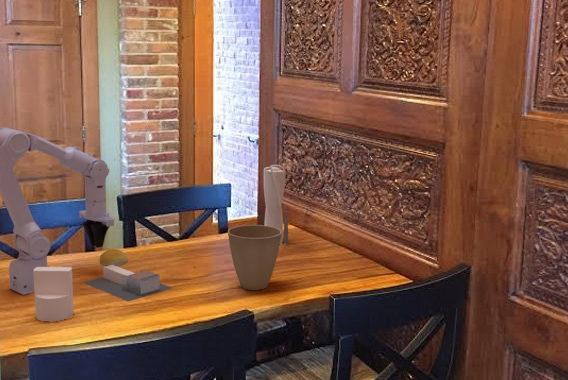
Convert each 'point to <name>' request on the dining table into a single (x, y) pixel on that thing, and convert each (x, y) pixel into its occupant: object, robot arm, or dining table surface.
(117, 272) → the pale grey rectangular bar
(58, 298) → the base with upright slab
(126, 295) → the mat
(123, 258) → the bread roll
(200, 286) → the dining table surface
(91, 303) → the dining table surface
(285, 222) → the skyscraper
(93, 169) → the robot arm
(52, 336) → the dining table surface
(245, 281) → the plant pot
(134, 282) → the end cap
